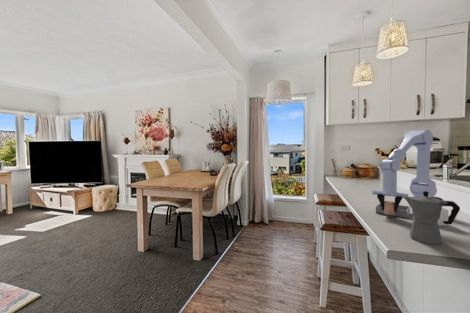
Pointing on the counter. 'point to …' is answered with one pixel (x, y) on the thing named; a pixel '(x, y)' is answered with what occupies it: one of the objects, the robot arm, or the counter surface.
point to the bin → (401, 211)
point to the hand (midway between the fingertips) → (389, 210)
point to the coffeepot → (429, 217)
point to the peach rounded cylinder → (389, 207)
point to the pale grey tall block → (442, 214)
